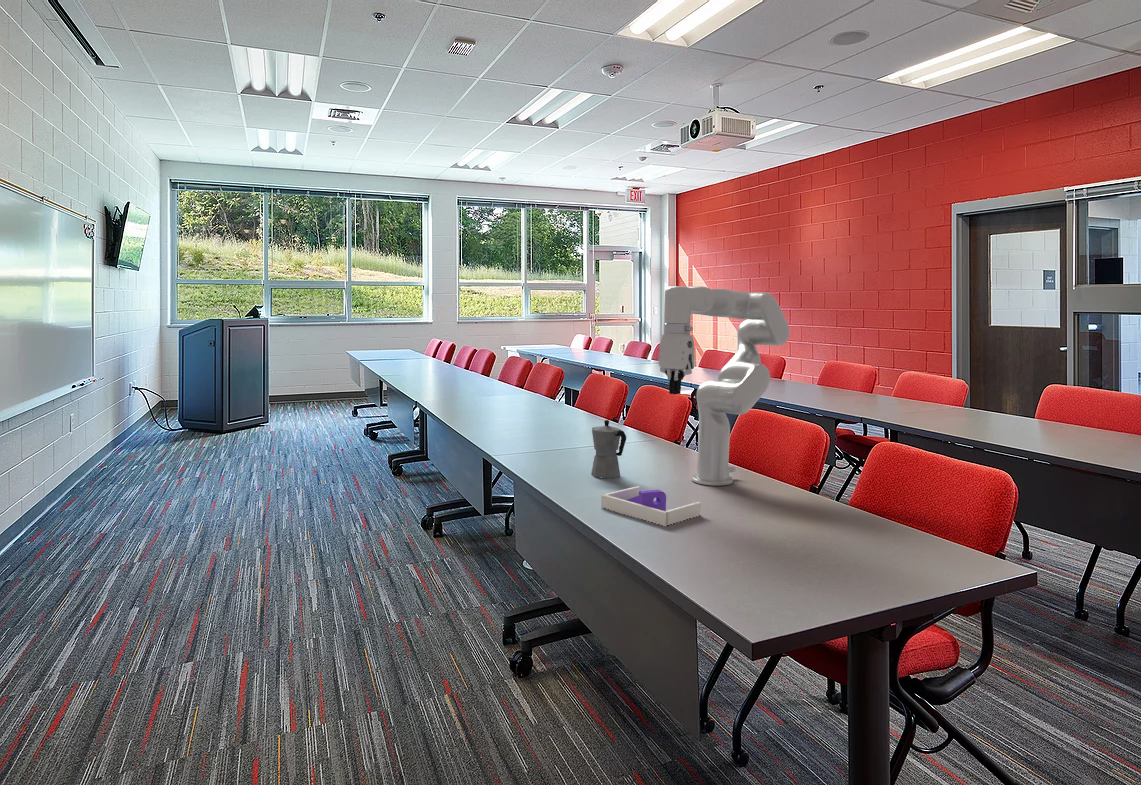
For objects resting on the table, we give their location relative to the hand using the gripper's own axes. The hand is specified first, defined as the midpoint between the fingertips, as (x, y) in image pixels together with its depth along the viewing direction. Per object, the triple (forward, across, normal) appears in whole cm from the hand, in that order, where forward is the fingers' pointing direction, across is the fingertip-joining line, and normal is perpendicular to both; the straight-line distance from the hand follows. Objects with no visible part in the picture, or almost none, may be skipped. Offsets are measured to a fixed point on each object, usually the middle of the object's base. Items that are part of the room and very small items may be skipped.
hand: (674, 393), depth 203 cm
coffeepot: (+29, +26, 0) cm, 39 cm away
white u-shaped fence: (+29, -9, +20) cm, 36 cm away
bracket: (+30, -7, +21) cm, 37 cm away
